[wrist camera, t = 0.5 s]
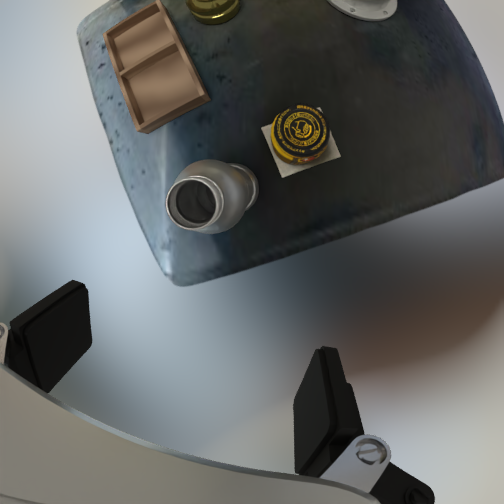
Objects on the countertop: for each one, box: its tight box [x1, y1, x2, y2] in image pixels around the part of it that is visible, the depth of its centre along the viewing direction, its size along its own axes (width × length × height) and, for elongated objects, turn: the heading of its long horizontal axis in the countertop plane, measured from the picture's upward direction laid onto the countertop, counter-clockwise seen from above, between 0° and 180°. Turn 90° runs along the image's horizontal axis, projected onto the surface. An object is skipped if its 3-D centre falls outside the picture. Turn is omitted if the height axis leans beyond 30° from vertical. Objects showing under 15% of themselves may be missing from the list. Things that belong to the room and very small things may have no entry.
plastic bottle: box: [166, 159, 259, 234], centre depth 28 cm, size 6×7×20 cm
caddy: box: [103, 0, 211, 134], centre depth 31 cm, size 20×10×4 cm, turn 24°
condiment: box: [261, 103, 341, 178], centre depth 29 cm, size 7×8×12 cm
